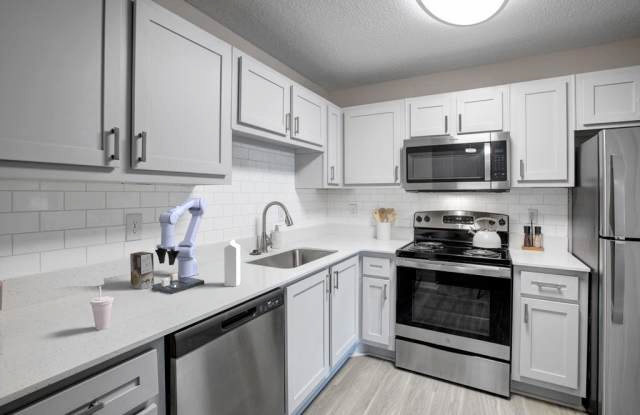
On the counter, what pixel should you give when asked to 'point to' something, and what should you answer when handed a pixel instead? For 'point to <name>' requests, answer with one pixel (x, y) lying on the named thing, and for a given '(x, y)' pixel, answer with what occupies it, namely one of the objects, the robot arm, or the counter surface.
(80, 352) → the counter surface
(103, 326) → the smoothie
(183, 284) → the console
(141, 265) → the coffee box
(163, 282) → the block
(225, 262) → the milk
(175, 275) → the block
